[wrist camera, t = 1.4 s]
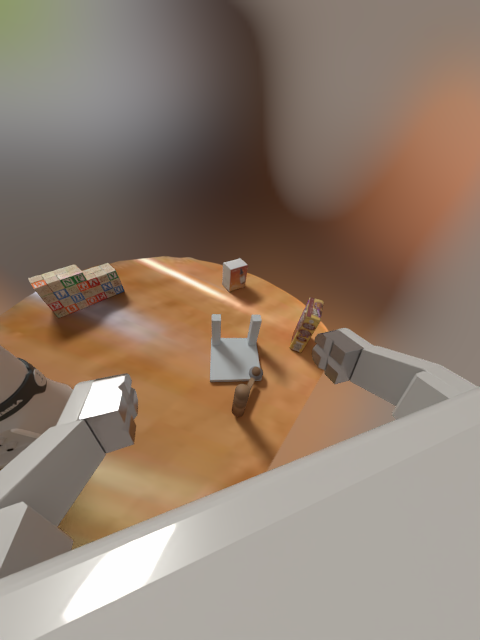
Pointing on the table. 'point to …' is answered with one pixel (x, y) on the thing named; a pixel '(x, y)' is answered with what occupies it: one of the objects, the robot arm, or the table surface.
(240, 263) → the small box
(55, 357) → the table surface
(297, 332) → the candy box
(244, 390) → the brown crank handle
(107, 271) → the stack of blocks
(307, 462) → the robot arm
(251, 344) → the white lever base
